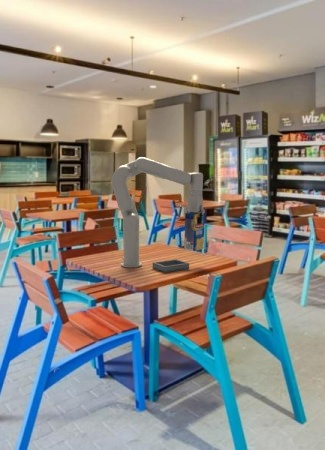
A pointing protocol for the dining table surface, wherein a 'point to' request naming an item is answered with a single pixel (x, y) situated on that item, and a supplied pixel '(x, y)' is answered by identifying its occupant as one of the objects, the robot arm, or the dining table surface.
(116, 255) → the dining table surface
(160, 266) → the tray
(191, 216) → the beverage box
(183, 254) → the dining table surface
